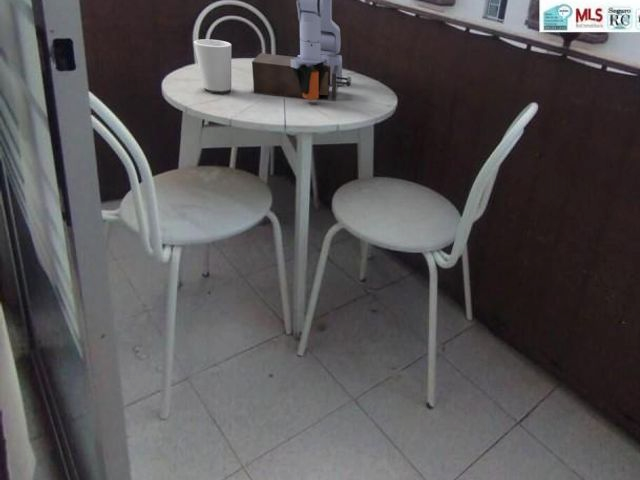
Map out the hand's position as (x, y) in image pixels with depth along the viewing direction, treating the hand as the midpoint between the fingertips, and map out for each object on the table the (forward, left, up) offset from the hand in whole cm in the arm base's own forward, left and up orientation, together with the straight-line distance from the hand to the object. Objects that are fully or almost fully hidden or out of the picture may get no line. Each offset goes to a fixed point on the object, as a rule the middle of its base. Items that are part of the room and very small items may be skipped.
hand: (310, 92), depth 149 cm
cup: (+26, -7, -3) cm, 27 cm away
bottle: (0, 0, -1) cm, 1 cm away
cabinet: (+8, -13, -3) cm, 16 cm away
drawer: (-4, -11, -2) cm, 12 cm away
